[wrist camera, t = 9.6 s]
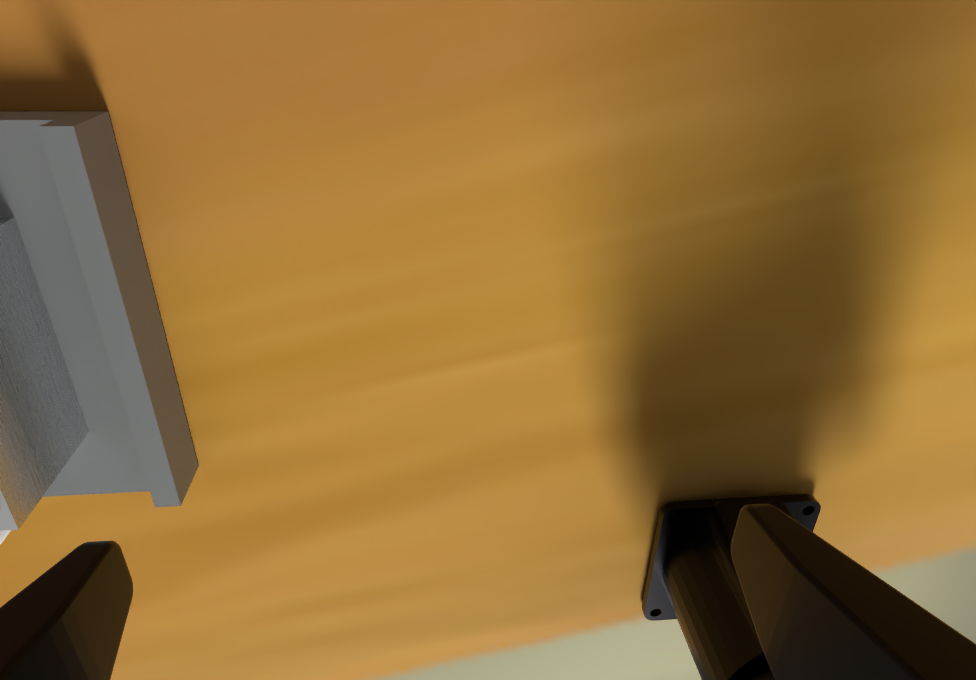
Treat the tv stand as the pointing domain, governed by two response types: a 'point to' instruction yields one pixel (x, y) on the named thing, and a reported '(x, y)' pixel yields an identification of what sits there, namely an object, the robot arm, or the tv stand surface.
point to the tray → (97, 303)
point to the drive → (30, 388)
